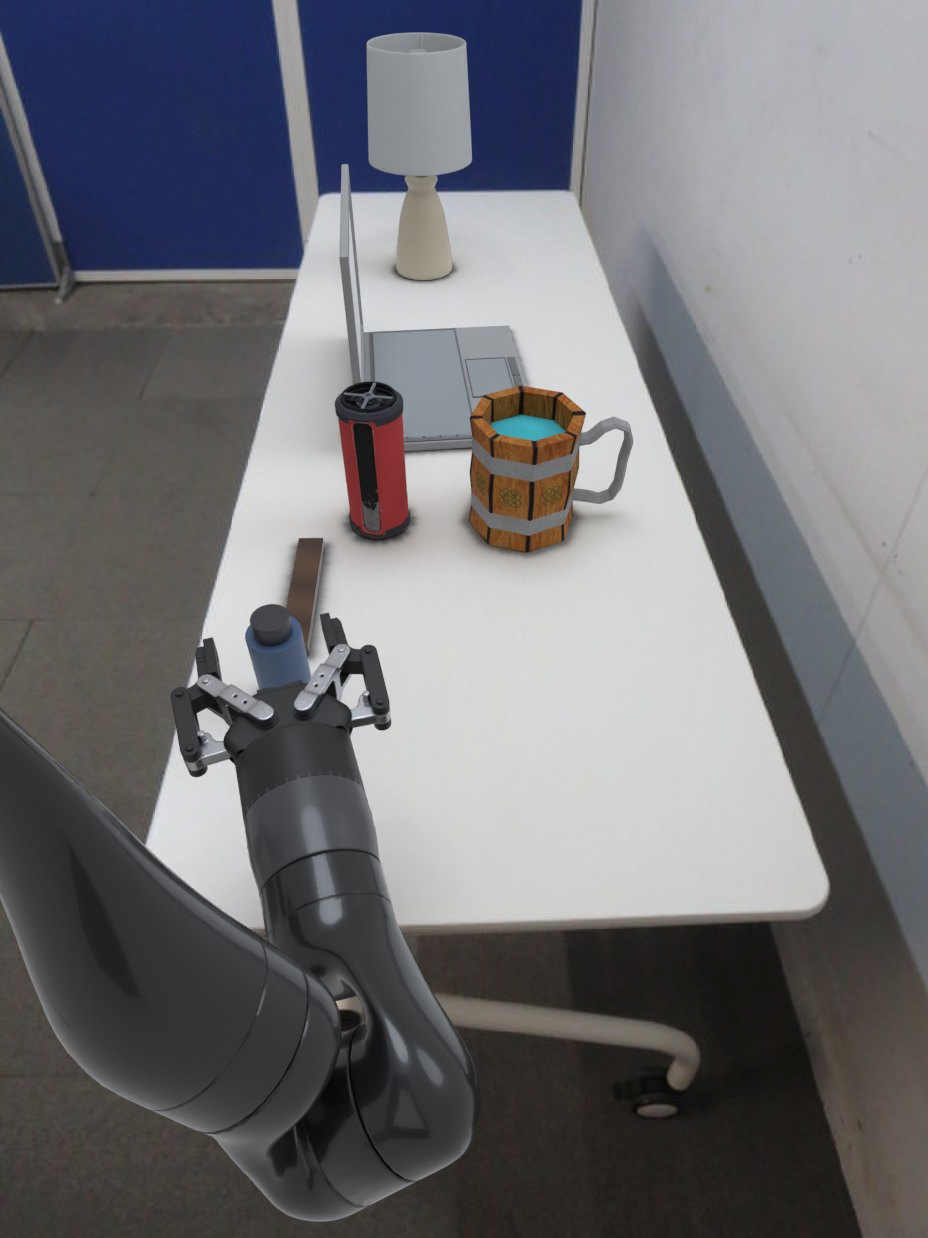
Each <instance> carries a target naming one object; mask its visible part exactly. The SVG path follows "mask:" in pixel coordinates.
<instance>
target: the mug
mask: <svg viewBox="0 0 928 1238" xmlns="http://www.w3.org/2000/svg"><path fill="white" fill-rule="evenodd" d="M586 415H587V412H586V411H585V410H583V408H581V407H580V406H579V405H578V404H577V403H575V402H574V401H573V400H572V399H571V398H569V396H568V395H566V394H565V393H564V392H562V391H557V390H550V389H545V388H538V387H532V386H528V387H527V386H517V387H513V388H510V389H506V390H502V391H498V392H494V393H490V394H487V395H483V396H482V398H481V400H480V401H479V403H478V405H477V406H476V408H475V410H474V411H473V413H472V414H471V416H470V424H471V431H472V447H471V457H470V464H469V480H470V481H469V483H470V509H469V516H468V522H469V524H470V525H471V526H472V527H473V528H474V530H475V531H476V532H477V533H478V535H480V537H481V538H482V539H483V540H484V542H485V543H486V544H487V545H489V546H494V547H499V548H504V549H509V550H514V551H519V552H523V553H531V552H534V551H537V550H540V549H544V548H547V547H549V546H552V545H555V544H557V543H561V542H563V541H565V539H566V536H567V533H568V531H569V528H570V526H571V523H572V521H573V517H574V502H583V503H591V504H595V505H596V504H597V505H603V504H605V503H608V502H610V501H613V500H614V499H615V498H616V496H617V495H618V494H619V492H621V490H622V489H623V488H622V487H623V484H624V481H625V476H626V473H627V468H628V462H629V460H630V456H631V452H632V449H633V447H634V436H633V432H632V427H631V424H630V422H629V421H628V420H625V419H623V418H619V417H617V416H610V417H608V418H605V419H602V420H600V421H598V422H596V424H595V425H594V426H593V427H591V428H590V429H589V430H587V431H583V428H584V423H585V419H586ZM613 430H618V431H621V432H623V440H622V442H621V446H620V449H619V451H618V455H617V460H616V465H615V466H616V467H615V470H614V475H613V480H612V481H611V483H610V485H609V486H608V487H607V489H604V490H601V491H595V490H590V489H584V488H576V487H575V486H576V482H577V477H578V473H579V470H580V447H582V446H589V445H592V444H594V443H595V442H598V440H600V438H602V436H604V435H605V434H606V433H608V432H611V431H613Z"/></svg>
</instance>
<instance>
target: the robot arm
mask: <svg viewBox="0 0 928 1238" xmlns="http://www.w3.org/2000/svg"><path fill="white" fill-rule="evenodd" d="M319 619H320V626H321V630H322V635H323V638H324V642H325V646H326V650H327V653H328V657H327V658H326V660H325V661H324V663H323V662H322V663H320V664H319V665H318V666H317V668H316V670H315V671H314V672H313V675H311V677H312V678H311V679H310V681H309V683H302V680H298V681H294V682H290V683H288V684H286V685H283V686H281V687H271V688H264V689H260V690H259V689H257V690H256V693H255V694H253V695H251V694H249V693H248V692H246V691H244V690H242V689H241V688H239V687H238V686H236V685H234V684H232V683H231V684H229V685H228V684H226V683H225V682H223V678H222V671H221V665H220V663H221V662H220V657H219V653H218V650H217V646H216V643H215V640H214V637H213V636H212V637H207V638H203V639H202V644H203V645H201V646H198V647H196V649H195V652H194V657H195V664H196V673H197V674H196V675H197V679H196V682H195V683H194V684H192V685H191V686H189V687H184V686H178V687H176V688H174V689H173V690H172V691H171V692H170V695H169V697H170V702H171V707H172V712H173V719H174V724H175V730H176V736H177V741H178V746H179V752H180V754H181V757H182V760H183V762H184V764H185V767H186V769H187V771H188V774H189V775H190V776H191V777H192V778H200V777H202V776H204V775H206V773H207V772H208V768H209V767H208V766H211V765H214V764H218V763H221V762H224V761H227V760H228V761H230V762H231V763H232V764H233V765H234V767H235V773H236V780H237V786H238V794H239V800H240V807H241V814H242V821H243V825H244V833H245V839H246V848H247V853H248V859H249V865H250V869H251V872H252V875H253V879H254V881H255V884H256V887H257V891H258V895H259V899H260V905H261V907H260V908H261V913H262V920H263V926H264V931H265V932H264V933H265V938H264V937H262V936H261V935H259V934H258V933H256V932H255V931H253V930H252V929H251V928H249V927H248V926H246V925H245V924H244V923H242V922H240V921H239V920H237V919H236V918H235V917H233V916H232V915H230V914H229V913H227V912H226V911H224V910H223V909H221V908H220V907H218V905H216V904H215V903H214V902H212V901H210V900H209V899H208V898H207V897H205V896H204V895H203V894H201V893H200V892H199V891H198V890H196V889H195V888H193V886H191V885H190V884H189V883H188V882H187V881H185V880H184V879H183V878H182V877H181V876H179V875H178V874H177V873H176V872H174V871H173V870H172V869H171V868H170V867H168V865H166V863H164V862H163V861H162V860H161V859H160V858H159V857H158V856H157V855H156V854H154V852H153V851H152V850H151V849H149V848H148V847H147V846H146V845H145V844H144V843H143V842H142V841H141V840H140V839H139V838H138V837H137V836H136V835H135V834H134V832H132V831H131V830H130V829H129V828H128V827H127V826H126V825H125V824H124V823H123V822H122V821H121V820H120V819H119V818H118V817H117V816H116V815H115V814H114V813H113V812H112V811H111V810H110V809H109V808H108V807H107V806H106V805H104V803H102V802H101V801H100V800H99V799H98V798H97V797H96V796H95V795H94V794H93V793H92V792H91V791H90V790H89V789H88V788H87V787H86V786H85V785H84V784H83V783H82V781H80V779H78V777H76V776H75V775H74V774H73V773H72V772H70V771H69V770H68V769H67V768H66V767H65V765H63V764H62V763H61V762H60V761H59V760H58V759H57V758H56V757H54V756H53V755H52V753H50V752H49V751H48V750H47V749H46V748H45V747H44V746H43V745H42V744H41V743H40V742H38V741H37V740H36V738H35V737H33V736H32V735H31V734H30V733H28V732H27V730H25V728H23V727H22V726H21V725H20V724H19V723H18V722H17V721H16V720H15V719H14V718H12V716H11V715H9V714H8V713H7V712H6V710H4V709H3V708H2V707H1V706H0V901H1V904H2V907H3V909H4V911H5V914H6V917H7V919H8V921H9V923H10V926H11V929H12V931H13V934H14V936H15V939H16V942H17V944H18V948H19V951H20V953H21V956H22V959H23V961H24V964H25V967H26V970H27V973H28V975H29V978H30V980H31V982H32V985H33V987H34V990H35V993H36V995H37V997H38V1001H39V1002H40V1005H41V1007H42V1010H43V1012H44V1014H45V1017H46V1019H47V1022H48V1023H49V1025H50V1027H51V1028H52V1030H53V1032H54V1035H55V1036H56V1038H57V1040H58V1041H59V1042H60V1044H61V1045H62V1047H63V1048H64V1049H65V1052H67V1054H68V1055H69V1056H70V1057H71V1058H72V1059H73V1060H74V1061H75V1062H76V1064H77V1065H78V1066H79V1067H80V1068H81V1069H82V1070H83V1071H84V1072H85V1073H86V1074H87V1075H88V1076H89V1077H90V1078H92V1079H93V1080H94V1081H96V1082H97V1083H98V1084H99V1085H100V1086H102V1087H103V1088H105V1089H107V1090H109V1091H110V1092H112V1093H113V1094H115V1095H117V1096H118V1097H120V1098H122V1099H125V1100H127V1101H129V1102H131V1103H133V1104H135V1105H137V1106H140V1107H142V1108H145V1109H147V1110H149V1111H151V1112H153V1113H155V1114H157V1115H159V1116H162V1117H165V1118H166V1119H168V1120H171V1121H173V1122H175V1123H178V1124H180V1125H182V1126H185V1127H187V1128H189V1129H191V1130H193V1131H197V1132H198V1133H202V1134H204V1135H206V1136H209V1137H212V1138H213V1139H214V1140H215V1141H216V1142H217V1143H218V1145H219V1146H220V1147H221V1148H222V1150H223V1151H224V1152H225V1153H226V1154H227V1156H228V1157H229V1158H230V1160H232V1162H233V1163H234V1164H235V1165H236V1166H237V1168H239V1169H240V1170H241V1171H242V1172H243V1173H244V1175H246V1176H247V1177H248V1179H249V1180H250V1181H252V1183H253V1184H254V1185H255V1186H256V1187H257V1188H258V1190H259V1191H260V1192H261V1193H262V1194H263V1195H264V1196H265V1197H266V1199H267V1200H268V1201H269V1202H270V1203H271V1204H272V1205H273V1206H274V1207H275V1208H277V1210H279V1211H280V1212H282V1213H284V1214H285V1215H286V1216H288V1217H291V1218H294V1219H297V1220H301V1221H306V1222H320V1223H321V1222H322V1223H323V1222H331V1221H337V1220H341V1219H344V1218H348V1217H349V1216H352V1215H354V1214H356V1213H358V1212H360V1211H362V1210H364V1209H366V1208H368V1207H369V1206H371V1205H373V1204H375V1203H377V1202H379V1201H381V1200H383V1199H385V1198H387V1197H389V1196H391V1195H393V1194H395V1193H397V1192H399V1191H401V1190H403V1189H405V1188H407V1187H409V1186H411V1185H413V1184H415V1183H416V1182H418V1181H420V1180H422V1179H425V1178H426V1177H428V1176H431V1175H433V1174H435V1173H437V1172H439V1171H441V1170H442V1169H445V1168H446V1167H449V1166H450V1165H452V1164H453V1163H455V1162H456V1161H458V1160H459V1159H460V1158H461V1157H462V1156H464V1154H465V1153H466V1152H467V1150H468V1149H469V1148H470V1146H471V1145H472V1143H473V1140H474V1138H475V1137H476V1133H477V1130H478V1125H479V1122H480V1113H481V1103H482V1102H481V1085H480V1079H479V1075H478V1070H477V1068H476V1064H475V1062H474V1059H473V1056H472V1055H471V1053H470V1051H469V1050H470V1049H468V1046H467V1045H466V1043H465V1041H464V1039H463V1038H462V1036H461V1034H460V1033H459V1031H458V1029H457V1028H456V1026H455V1025H454V1023H453V1021H452V1020H451V1018H450V1017H449V1015H448V1014H447V1012H446V1010H445V1009H444V1007H443V1006H442V1004H441V1003H440V1001H439V999H438V998H437V997H436V995H435V993H434V992H433V990H432V988H431V987H430V985H429V984H428V981H427V980H426V978H425V976H424V974H423V972H422V971H421V969H420V967H419V965H418V963H417V961H416V959H415V958H414V956H413V953H412V952H411V949H410V948H409V946H408V944H407V942H406V940H405V938H404V935H403V933H402V931H401V929H400V927H399V924H398V921H397V918H396V914H395V910H394V906H393V904H392V900H391V896H390V893H389V888H388V885H387V880H386V877H385V873H384V871H383V866H382V862H381V859H380V852H379V841H378V835H377V830H376V826H375V822H374V817H373V812H372V810H371V808H370V804H369V799H368V796H367V793H366V789H365V786H364V782H363V779H362V775H361V772H360V767H359V764H358V760H357V757H356V753H355V750H354V745H353V742H352V738H351V736H352V733H353V730H354V729H355V728H360V727H365V726H370V725H371V726H372V725H373V726H374V728H375V729H376V730H378V731H384V732H385V731H387V730H388V729H390V728H391V726H392V715H391V704H390V698H389V693H388V690H387V685H386V682H385V677H384V674H383V670H382V665H381V661H380V657H379V654H378V649H377V647H376V646H375V645H373V644H366V645H363V646H361V647H360V648H354V647H351V646H350V645H349V644H348V640H347V637H346V633H345V631H344V627H343V624H342V620H340V619H339V618H338V617H333V618H331V614H330V612H324V613H320V614H319ZM353 675H362V678H363V682H364V686H365V690H364V691H363V692H362V694H360V695H359V697H358V698H357V705H356V706H355V707H353V708H351V709H350V707H349V705H347V704H345V703H344V702H342V701H341V699H342V697H343V692H344V689H345V688H346V686H347V684H348V683H349V681H350V679H351V677H352V676H353ZM204 710H208V711H210V712H212V713H213V714H214V715H216V716H218V717H220V718H221V719H222V720H223V722H225V724H226V725H227V726H228V727H229V728H228V729H227V731H226V732H225V734H224V736H223V740H216V739H215V738H213V736H212V734H211V733H209V732H205V731H204V730H202V729H201V728H200V722H199V717H198V713H200V712H202V711H204ZM355 997H357V998H358V1001H359V1003H360V1004H361V1008H362V1012H363V1018H364V1022H363V1023H362V1024H359V1025H358V1026H356V1027H354V1028H352V1029H350V1030H348V1031H345V1032H344V1033H342V1018H341V1013H340V1012H341V1011H340V1008H339V1006H338V1003H337V1002H339V1001H345V1000H347V999H352V998H355Z"/></svg>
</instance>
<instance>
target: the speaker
mask: <svg viewBox="0 0 928 1238" xmlns="http://www.w3.org/2000/svg"><path fill="white" fill-rule="evenodd" d="M334 411H335V415H336V417H337V420H338V428H339V434H340V435H339V436H340V445H341V452H342V460H343V469H344V476H345V484H346V492H347V499H348V508H349V513H348V519H349V524H350V526H351V528H352V530H353V531H355V533H357V534H359V535H361V536H364V537H367V538H371V539H386V538H390V537H393V536H395V535H398V534H399V533H401V532H403V531H404V530H405V529H406V528H407V527H408V526H409V524H410V522H411V512H410V510H409V497H408V488H407V472H406V469H407V468H406V454H405V451H404V437H403V434H404V432H403V415H402V413H403V398H402V396H401V394H400V393H399V392H397V391H396V390H394V389H393V388H392V387H391V386H389V385H387V384H384V383H381V382H373V381H369V382H360V383H356V384H353V383H352V384H351V385H349V386H347V387H346V388H345V389H344V390H342V392H341V393H340V394H339V395H337V397H336V399H335V401H334Z"/></svg>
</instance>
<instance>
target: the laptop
mask: <svg viewBox="0 0 928 1238" xmlns="http://www.w3.org/2000/svg"><path fill="white" fill-rule="evenodd" d="M340 167H341V168H340V169H341V170H340V172H341V173H340V176H341V177H340V211H339V212H340V213H339V214H340V215H339V254H338V255H339V256H338V259H339V266H340V276H341V287H342V294H343V296H342V297H343V303H344V305H343V306H344V313H345V323H346V332H347V340H348V350H349V359H350V368H351V377H352V385H353V384H356V383H360V382H369V381H373V382H381V383H384V384H387V385H389V386H391V387H392V388H393V389H394V390H396V391H397V392H399V393H400V394H401V396H402V398H403V413H402V415H403V432H404V434H403V437H404V452H415V451H433V450H434V451H435V450H451V449H453V450H454V449H467V448H472V431H471V424H470V416H471V414H472V413H473V411H474V410H475V408H476V406H477V405H478V403H479V401H480V400H481V398H482V396H483V395H487V394H490V393H494V392H498V391H502V390H506V389H510V388H513V387H517V386H527V387H529V384H528V382H527V379H526V375H525V373H524V369H523V366H522V362H521V359H520V356H519V353H518V350H517V346H516V343H515V340H514V336H513V333H512V329H511V327H510V325H489V326H468V327H467V326H466V327H448V328H447V327H446V328H445V327H444V328H443V327H442V328H424V329H423V328H421V329H403V330H383V331H382V330H381V331H380V330H379V331H365V329H364V319H363V318H364V317H363V306H362V295H361V285H360V275H359V265H358V254H357V244H356V242H357V241H356V232H355V222H354V209H353V202H352V201H353V200H352V188H351V178H350V168H349V167H350V166H349V163H342V164H341V166H340Z"/></svg>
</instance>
